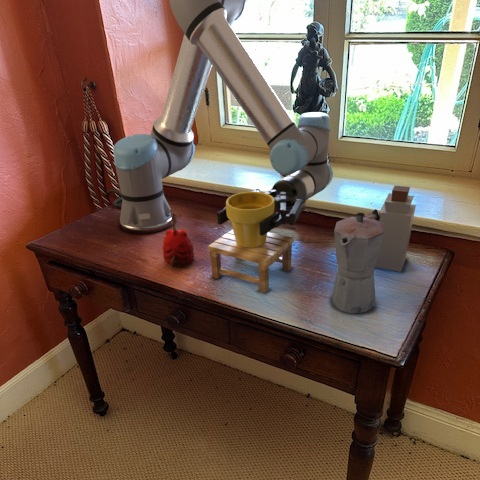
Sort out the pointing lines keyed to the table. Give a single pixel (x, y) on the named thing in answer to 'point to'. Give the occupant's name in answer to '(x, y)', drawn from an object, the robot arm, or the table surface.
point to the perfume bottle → (395, 228)
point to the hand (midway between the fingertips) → (239, 223)
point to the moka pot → (357, 261)
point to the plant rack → (252, 256)
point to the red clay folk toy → (177, 246)
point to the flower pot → (249, 216)
